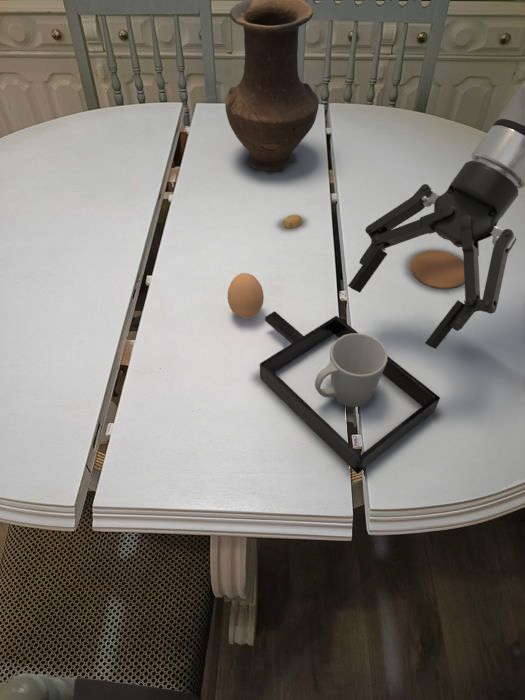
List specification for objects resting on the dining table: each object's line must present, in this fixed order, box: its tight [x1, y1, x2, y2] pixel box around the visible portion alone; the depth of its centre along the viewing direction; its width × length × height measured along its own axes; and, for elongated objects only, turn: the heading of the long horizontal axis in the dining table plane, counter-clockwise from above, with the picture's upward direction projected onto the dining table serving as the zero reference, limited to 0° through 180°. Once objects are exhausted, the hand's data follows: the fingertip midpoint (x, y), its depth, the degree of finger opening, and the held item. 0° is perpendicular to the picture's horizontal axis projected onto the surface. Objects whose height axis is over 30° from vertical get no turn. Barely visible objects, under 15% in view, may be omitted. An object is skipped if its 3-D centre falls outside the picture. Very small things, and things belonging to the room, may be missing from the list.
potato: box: [282, 214, 303, 229], centre depth 103 cm, size 3×4×2 cm
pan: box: [259, 311, 441, 474], centre depth 77 cm, size 27×15×4 cm, turn 39°
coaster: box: [409, 250, 465, 290], centre depth 94 cm, size 10×10×1 cm
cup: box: [314, 332, 389, 408], centre depth 73 cm, size 8×10×8 cm
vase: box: [225, 0, 320, 172], centre depth 108 cm, size 19×19×30 cm
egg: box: [227, 272, 265, 319], centre depth 85 cm, size 6×6×8 cm
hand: (390, 316), depth 71 cm, fingers open, 13 cm apart
